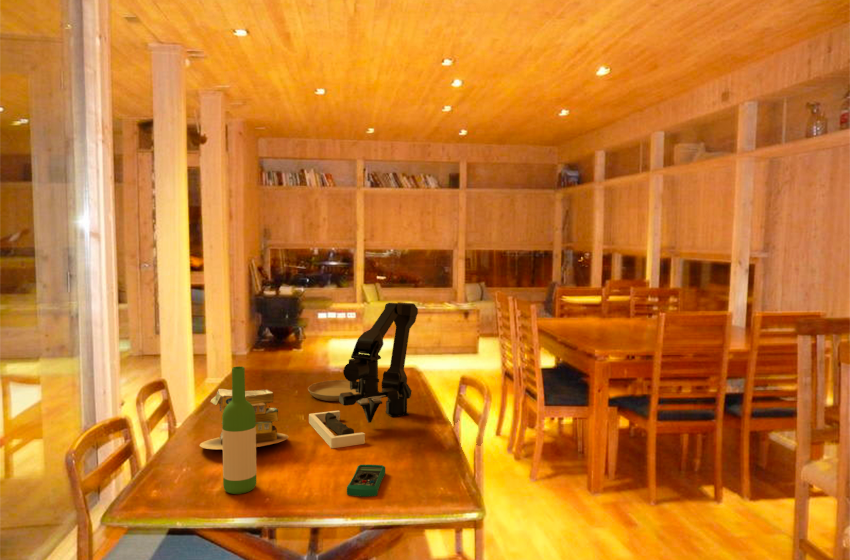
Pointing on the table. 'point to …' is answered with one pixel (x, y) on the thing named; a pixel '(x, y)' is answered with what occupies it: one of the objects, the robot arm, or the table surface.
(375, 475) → the digital multimeter
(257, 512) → the table surface
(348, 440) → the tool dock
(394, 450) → the table surface
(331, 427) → the hand tool
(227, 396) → the plate of stacked boxes
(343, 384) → the plant saucer
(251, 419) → the wine bottle
